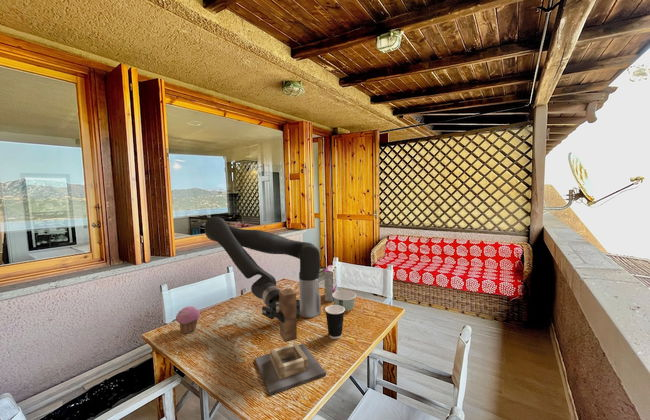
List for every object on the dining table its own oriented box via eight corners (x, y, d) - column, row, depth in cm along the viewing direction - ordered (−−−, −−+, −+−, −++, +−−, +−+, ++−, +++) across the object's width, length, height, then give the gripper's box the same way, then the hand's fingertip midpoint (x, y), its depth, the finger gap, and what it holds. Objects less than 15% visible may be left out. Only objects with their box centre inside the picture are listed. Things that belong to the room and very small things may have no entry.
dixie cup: (325, 330, 112) (325, 304, 111) (344, 330, 111) (344, 304, 111) (325, 341, 104) (324, 313, 103) (345, 341, 104) (345, 313, 103)
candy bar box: (328, 293, 152) (328, 265, 151) (337, 294, 151) (336, 265, 150) (324, 301, 141) (323, 270, 140) (333, 302, 140) (333, 271, 139)
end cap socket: (303, 346, 100) (303, 334, 100) (325, 375, 84) (325, 361, 84) (255, 360, 92) (254, 347, 92) (269, 395, 76) (269, 380, 76)
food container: (355, 313, 127) (355, 300, 127) (330, 311, 129) (330, 298, 129) (357, 303, 139) (357, 291, 138) (334, 301, 141) (334, 289, 140)
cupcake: (193, 323, 118) (192, 301, 118) (204, 329, 113) (203, 306, 113) (172, 332, 111) (171, 309, 110) (183, 339, 106) (182, 314, 105)
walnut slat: (291, 332, 91) (290, 288, 90) (296, 339, 86) (296, 293, 85) (279, 334, 89) (279, 290, 88) (284, 342, 84) (283, 295, 83)
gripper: (255, 292, 96) (268, 311, 81) (292, 285, 103) (311, 302, 87) (255, 312, 97) (268, 335, 81) (293, 305, 103) (311, 324, 88)
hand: (290, 318), depth 85 cm, fingers closed on walnut slat, 4 cm apart
